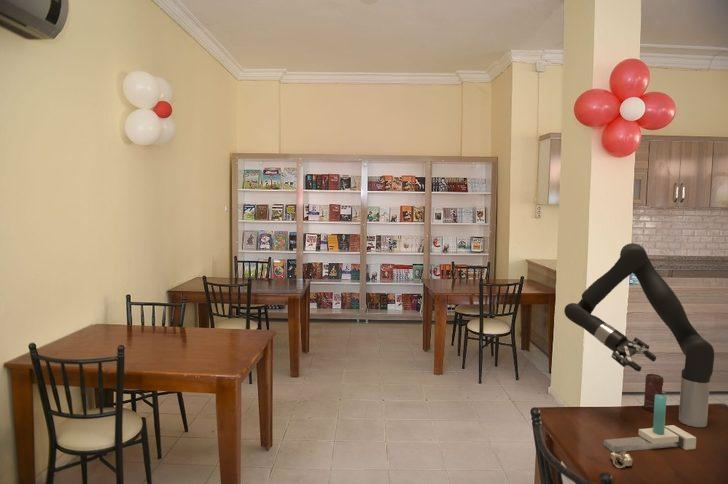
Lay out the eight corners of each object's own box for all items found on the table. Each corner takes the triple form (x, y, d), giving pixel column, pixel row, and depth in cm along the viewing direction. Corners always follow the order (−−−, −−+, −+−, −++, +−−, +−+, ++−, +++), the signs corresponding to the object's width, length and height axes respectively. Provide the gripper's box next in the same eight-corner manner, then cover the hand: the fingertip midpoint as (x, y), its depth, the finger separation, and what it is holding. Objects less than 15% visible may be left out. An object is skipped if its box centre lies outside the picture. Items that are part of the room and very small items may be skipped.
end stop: (672, 435, 186) (673, 425, 186) (695, 448, 177) (696, 437, 176) (661, 436, 185) (662, 425, 185) (684, 449, 176) (684, 438, 175)
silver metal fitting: (616, 455, 171) (616, 445, 171) (637, 464, 166) (638, 453, 166) (603, 463, 166) (604, 452, 166) (625, 472, 161) (626, 461, 161)
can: (663, 412, 207) (666, 379, 206) (646, 411, 208) (648, 377, 207) (658, 407, 213) (660, 374, 211) (641, 405, 214) (643, 372, 213)
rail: (667, 439, 183) (667, 434, 183) (678, 446, 178) (678, 440, 178) (603, 445, 178) (603, 439, 178) (613, 452, 173) (613, 446, 173)
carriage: (662, 432, 184) (665, 391, 182) (678, 441, 177) (681, 399, 176) (638, 434, 182) (640, 393, 181) (652, 443, 175) (655, 401, 174)
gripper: (600, 338, 195) (638, 366, 183) (624, 323, 200) (663, 349, 189) (595, 351, 199) (632, 379, 188) (619, 336, 205) (657, 363, 194)
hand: (647, 364), depth 189 cm, fingers open, 8 cm apart
